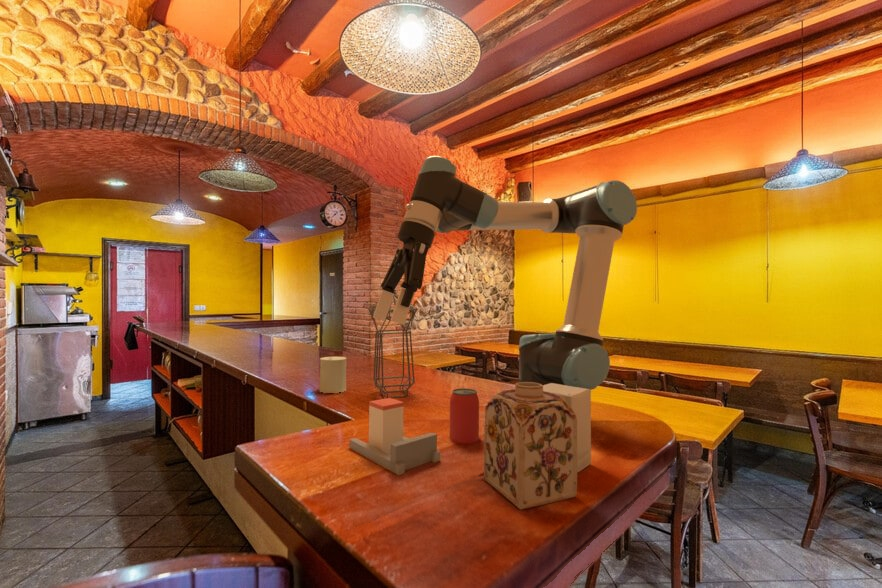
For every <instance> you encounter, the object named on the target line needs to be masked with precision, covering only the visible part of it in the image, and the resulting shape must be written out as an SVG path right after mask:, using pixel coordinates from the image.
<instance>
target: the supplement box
mask: <svg viewBox="0 0 882 588" xmlns="http://www.w3.org/2000/svg"><path fill="white" fill-rule="evenodd" d="M543 391H545V392H550V393H554V394H556V395H559V396H562V397H563V398H564V399H565V400H566V402H567V403H568V405H569V406H570V407H571V408H572V410H573V411H574V413H575V414H576V416H577V474H578V473H580V472H581V471H582V470H584V469H585V468H587V467H588V466H590V465H591V464H592V438H591V437H592V428H591V427H592V422H591V421H592V417H591V416H592V412H591V411H592V404H591V403H592V395H591V394H592V392H591V391H592V390H591V389H585V388H579V387H572V386H566V385H560V384H554V383H550V384H546V385H543Z"/></svg>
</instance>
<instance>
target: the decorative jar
mask: <svg viewBox="0 0 882 588" xmlns="http://www.w3.org/2000/svg"><path fill="white" fill-rule="evenodd" d="M514 387H515V388H514V389H505V390H504V389H503V390H502V391H500V392H498V393H496V395H494V396H493V397H492V398H491V399H489V401H487V404H486V405H485V407H484V425H483V426H484V434H483V435H484V436H483V438H484V439H483V475H484V476H483V477H484V478H483V479H484V480H485V482H487V483H488V484H489V485H490V486H492V487H493V488H494V489H495V490H496V491H498V492H499V493H500V494H501V495H502V496H504V498H506V499H507V500H508V501H509V502H511V504H513V505H514V506H516V508H517V509H519V510H526V509H530V508H535V507H539V506H543V505H548V504H551V503H555V502H560V501H565V500H568V499H573V498H575V497H576V496H577V493H578V492H577V489H578V473H577V416H576V414H575V413H574V411H573V410H572V408H571V407H570V406H569V405H568V403H567V402H566V400H565V399H564V398H563V397H562V396H559V395H556V394H554V393H550V392H545V391H543V385H542V384H539V383H534V382H519V381H518V382H515V386H514Z"/></svg>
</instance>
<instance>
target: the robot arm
mask: <svg viewBox="0 0 882 588" xmlns="http://www.w3.org/2000/svg"><path fill="white" fill-rule="evenodd" d="M456 172H457V167H456V165H455V164H454V163H453V162H452V161H451V160H450V159H448V158H445V157H444V156H443V157H442V156H439V155H431V156H429V157H426V158H425V159H424V161H423V163H422V166H421V168H420V170H419V172H418V174H417V176H416V177H417V178H416V181H415V183H414V187H413V190H412V193H411V197H410V199H409V203H408V204H406V205H405V206H404V208H405V210H406V212H405V214H404V216H403V221H402V222H401V225H400V227H399V229H398V233H397V238H398V240H399V241H400V242H402V243H403V246H402V248H397V250H396V251H395V254H394V256H393V260H392V261H391V263H390V266H389V268H388V270H387V272H386V274H385V276H384V278H383V281H382V282H381V284H380V288H381V293H380V295H379V298H378V300H377V302H378V303H377V306H376V309H375V311H374V315H373V318H374V319H375V320H376V319H377V320H379V321H382V322H384V321H385V319H386V316H387V313H388V311H389V308H390V305H391V306H392V304H391V302H392V303H393V300H394V299H393V296H394V294H397V291H396V288H397V287H398V285H399V283H400V281H401V279H402V277H403V276H404V277H403V281H402V283H401V284H400V286H399V287H400V291H399V293H398V295H399V296H398V299H397V298H396V305H394V308H393V309H394V311H393V312H392V313H391V316H390V317H391V321H390V322H393V323H396V324H399V325H400V324H402V325H404V326H405V324H406V321H407V318H408V315H409V314H408V312H409V309H410V306H412V305H411V304H413V299H414V297H415V295H416V292H417V291H418V289H419V290H421V288H422V287H423V281H424V274H425V266H426V261H427V255H428V251H429V249H431V248H432V246H433V242H434V239H435V235H436V233H435V232H437V233H440V234H448V233H449V234H450V233H451V232H457V231H458V232H459V231H461V232H464V231H493V230H494V231H509V230H510V231H512V230H513V231H514V230H516V231H517V230H518V231H519V230H521V231H522V230H523V231H525V230H540V231H541V232H542V233H547V234H549V233H550V234H551V233H554V234H555V233H556V234H576V235H577V237H579V240H578V246H577V252H576V256H575V262H574V268H573V271H572V272H573V273H572V277H571V278H572V279H571V281H570V282H571V284H570V289H569V294H568V298H567V304H566V310H565V315H564V321H563V325H562V326H561V327H559V328H557V329H556V330H555V333H538V334H537V333H534V334H524V335H522V336H521V337H520V338H519V344H518V345H519V346H518V355H519V356H518V358H519V359H518V360H519V361H518V366H519V367H518V382H534V383H539V384H542V385H546V384H550V383H554V384H560V385H566V386H572V387H579V388H585V389H591V391H592V390H595V389H596V388H597V387H598V386H600V385H601V384H602V383H604V381H605V380H606V378H607V377H608V374H609V371H610V365H611V362H610V357H609V356H608V355H609V353H608V351H607V349H605V348H604V347H603V345H604V338H603V337H602V336H601V334H600V333H599V330H600V325H601V318H602V314H603V313H602V312H603V308H604V307H603V306H604V302H605V297H606V291H607V285H608V278H609V274H610V267H611V263H612V257H613V251H614V248H615V247H614V246H615V245H614V244H615V243H616V242H617V241H618V240H620V239H621V238H623V237H622V236H623V233H624V226H626V225H629V224H630V223H631V222H632V221H634V219H635V217H636V215H637V211H638V203H637V199H636V196H635V194H634V193H633V191H632V189H631V188H630V187H629V186H628V185H627V183H625V182H622V181H621V180H615V179H614V180H609V181H606V182H600V183H599V184H597V185H595V186H592V187H588V188H585V189H583V190H579V191H577V192H574V193H570V194H569V195H565V196H562V197H558V198H547V199H544V200H543V201H542V202H540V201H539V202H538V201H537V202H536V201H535V202H534V201H532V202H530V201H529V202H527V201H526V202H525V201H520V202H519V201H498V200H497V199H496V198H494V197H492V196H491V195H490V194H488V193H487V192H486V191H483V190H480V189H478V188H477V187H474V186H473V185H471V184H469V183H466V182H464V181H462V180H461V179H460V178H458V177H456V174H457V173H456ZM388 314H389V313H388ZM386 320H387V319H386ZM385 322H386V321H385Z"/></svg>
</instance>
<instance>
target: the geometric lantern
mask: <svg viewBox="0 0 882 588" xmlns="http://www.w3.org/2000/svg"><path fill="white" fill-rule="evenodd" d="M398 296H399V294H397V293H396V294H394V296H393V299H392V300H393V301H392V302H391V305H390V308H389V310H388V313H387V316H386V319H385V321H382V324H381V327H380V329H378V326H377V322H376V318H373V315H374V312H375V309H376V306H377V304H378V301H377V302H376V303H374V304H373V305H371V306H370V307H369V308H367V310H368V312H369V315H370V317H371V320H372V321H373V324H374V327H375V329H376V330H375V331H374V332H375V335H374V337H375V339H374V341H375V342H374V358H373V359H374V360H373V363H374V364H373V376H372V377H373V379H372V380H373V384H374V386H375V388H377V389H378V390H379V393H380V395H381V394H382V395H383V396H382V395H381V396H382V397H383V398H384V397H389V395H388V394H389V393H396V392H400V391H404V392H405V393H406V394H405V393H404V392H403V393H404V394H405V396H407V397H408V396H409V389H410V388H411V387H412V386H413V385H414V384H415V383H416V380H415V368H414V367H415V366H414V356H413V354H414V353H413V341H412V325H413V321H414V319H415V316H416V313H417V311H419V310H420V309H419V308H418V307H416V306H415V305H414V304H413V303H411V306H410V309H409V312H408V315H410V317H409V321H408V323H407V326H406V327H405V324H404V325H402V324H399V325H400V327H401V329H387V327H388V325H389V324H390V323H391V322H392V321H391V317H392V316H391V314H393V311H394V308H393V309H392V304H394V306H395V305H396V302H397V299H398ZM387 320H388V322H387ZM386 322H387V324H386V325H385V323H386ZM384 325H385V327H384ZM409 326H410V329H409ZM383 327H384V328H383ZM408 329H409V330H408ZM395 331H396V332H395ZM397 331H400V332H397ZM396 334H397V335H400V334H401V335H402V375H400V376H399V375H398V376H388V377H387V376H386V377H385V376H384V355H383V354H384V351H383V335H396ZM408 334H409V337H408ZM405 346H406V347H405ZM409 346H410V351H409ZM405 348H406V362H407V373H408V376H406V375H405ZM410 356H411V357H410ZM410 358H411V359H410ZM410 360H411V365H410ZM380 369H381V374H380ZM411 372H412V377H411ZM380 375H381V376H380ZM404 378H405V379H407V380H406V381H405V382H404V383H403V380H404ZM389 379H390V380H391V379H401V382H400V384H386V385H385V383H384V380H389ZM407 382H408V383H407ZM391 387H392V388H393V387H399V390H387V389H386V388H391ZM401 388H402V390H401ZM385 391H386V392H385ZM381 392H384V393H381ZM401 396H402V395H397V396H395V395H394V396H392V397H394V398H402V397H401Z"/></svg>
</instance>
